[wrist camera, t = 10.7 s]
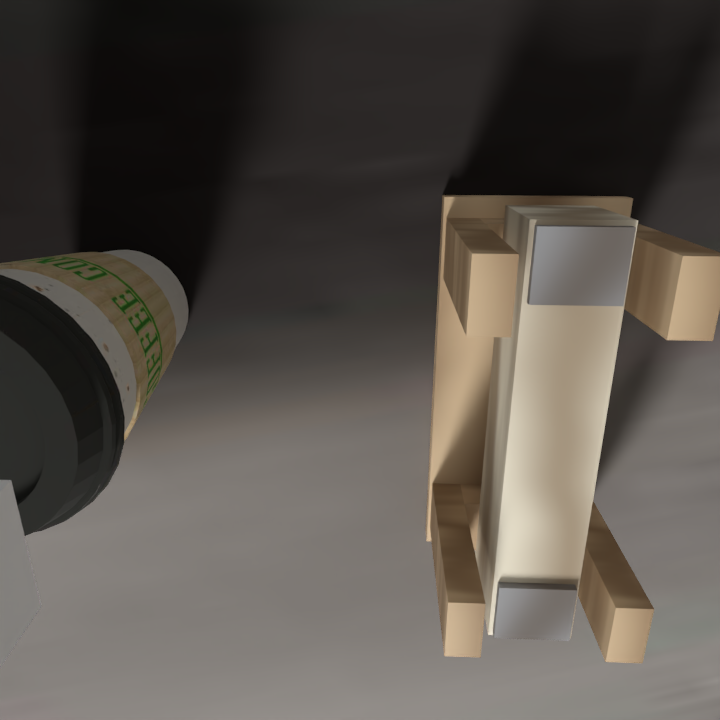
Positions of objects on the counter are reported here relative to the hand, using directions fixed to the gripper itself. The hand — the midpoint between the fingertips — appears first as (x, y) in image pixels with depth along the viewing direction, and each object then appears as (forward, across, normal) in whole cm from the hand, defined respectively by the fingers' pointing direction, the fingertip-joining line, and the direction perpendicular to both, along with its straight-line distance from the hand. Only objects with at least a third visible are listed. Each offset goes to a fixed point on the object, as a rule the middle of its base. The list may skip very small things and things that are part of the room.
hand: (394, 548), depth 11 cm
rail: (+19, +8, -7) cm, 22 cm away
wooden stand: (+22, +8, -6) cm, 24 cm away
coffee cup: (+23, -13, -3) cm, 27 cm away
